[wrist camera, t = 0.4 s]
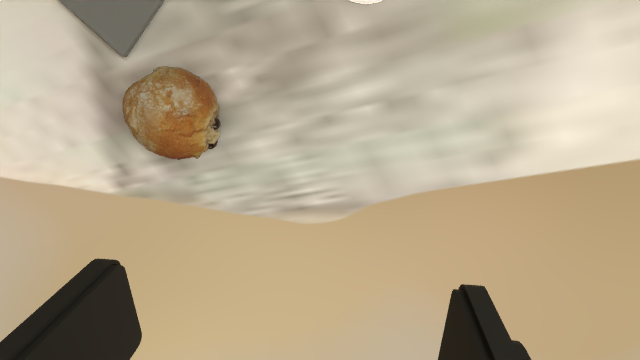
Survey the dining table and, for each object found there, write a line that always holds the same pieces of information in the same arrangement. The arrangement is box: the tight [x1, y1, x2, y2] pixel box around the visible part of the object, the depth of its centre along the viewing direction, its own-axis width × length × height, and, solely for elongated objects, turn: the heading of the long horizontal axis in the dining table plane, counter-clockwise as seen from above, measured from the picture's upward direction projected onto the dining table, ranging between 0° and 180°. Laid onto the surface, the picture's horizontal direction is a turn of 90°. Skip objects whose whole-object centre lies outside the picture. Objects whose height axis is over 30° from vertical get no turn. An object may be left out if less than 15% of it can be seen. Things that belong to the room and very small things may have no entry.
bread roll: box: [123, 67, 220, 160], centre depth 38 cm, size 10×10×8 cm
